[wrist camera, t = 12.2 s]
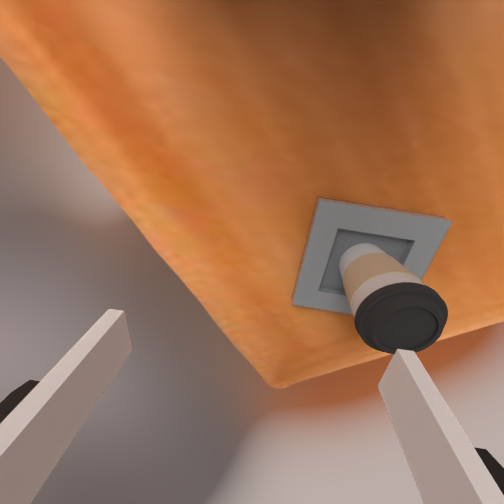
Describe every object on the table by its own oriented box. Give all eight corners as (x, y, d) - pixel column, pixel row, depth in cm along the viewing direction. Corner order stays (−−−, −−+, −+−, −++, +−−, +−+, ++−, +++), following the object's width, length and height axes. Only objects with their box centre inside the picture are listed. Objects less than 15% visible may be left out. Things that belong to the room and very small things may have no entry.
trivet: (317, 196, 34) (320, 200, 33) (443, 216, 34) (452, 221, 32) (291, 297, 42) (292, 304, 40) (393, 314, 42) (398, 322, 40)
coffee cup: (405, 257, 36) (481, 328, 23) (361, 296, 40) (404, 377, 26) (360, 224, 35) (414, 280, 21) (319, 268, 38) (342, 339, 25)
